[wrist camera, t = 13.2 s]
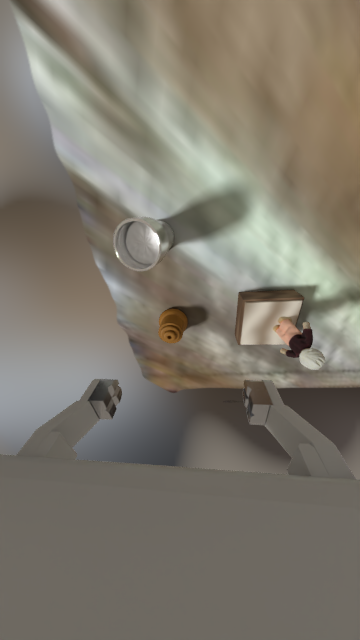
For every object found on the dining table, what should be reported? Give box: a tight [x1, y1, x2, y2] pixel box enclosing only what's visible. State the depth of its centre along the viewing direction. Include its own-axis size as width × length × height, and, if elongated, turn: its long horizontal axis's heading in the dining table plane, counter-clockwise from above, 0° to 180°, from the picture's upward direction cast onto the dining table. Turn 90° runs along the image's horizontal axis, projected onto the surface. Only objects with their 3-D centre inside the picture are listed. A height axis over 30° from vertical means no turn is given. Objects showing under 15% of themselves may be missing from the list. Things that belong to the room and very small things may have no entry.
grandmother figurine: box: [273, 317, 325, 370], centre depth 32 cm, size 8×4×13 cm, turn 175°
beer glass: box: [113, 217, 174, 271], centre depth 29 cm, size 7×7×15 cm
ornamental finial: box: [158, 309, 188, 343], centre depth 42 cm, size 8×8×8 cm
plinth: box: [235, 290, 304, 345], centre depth 40 cm, size 12×12×5 cm
